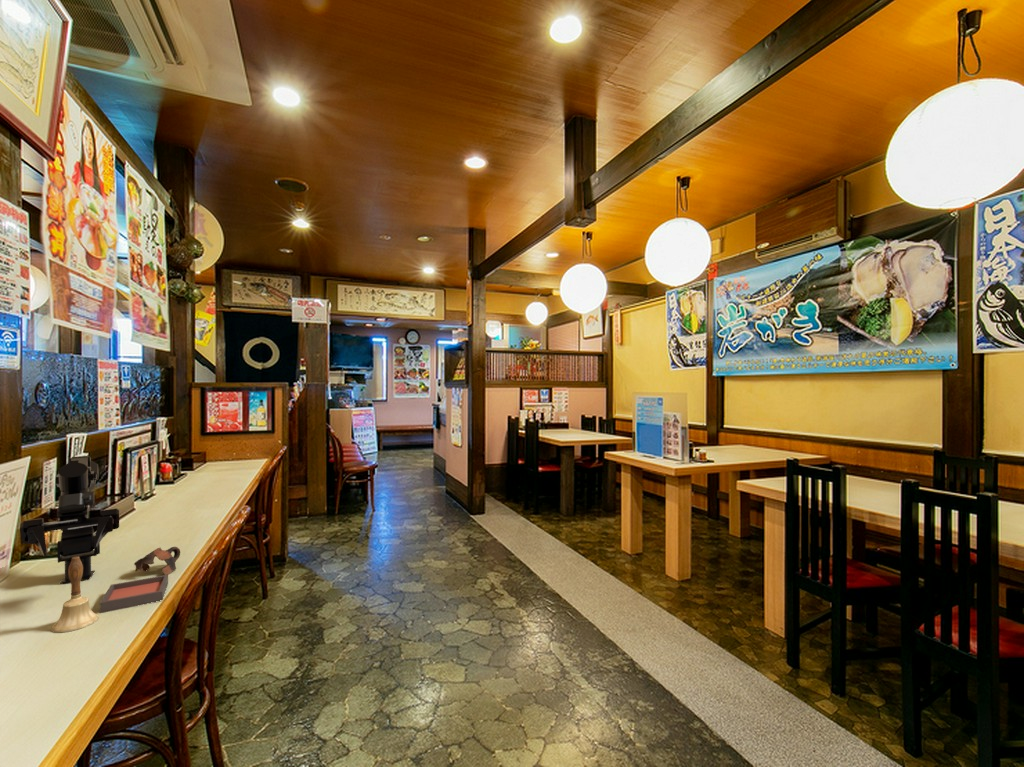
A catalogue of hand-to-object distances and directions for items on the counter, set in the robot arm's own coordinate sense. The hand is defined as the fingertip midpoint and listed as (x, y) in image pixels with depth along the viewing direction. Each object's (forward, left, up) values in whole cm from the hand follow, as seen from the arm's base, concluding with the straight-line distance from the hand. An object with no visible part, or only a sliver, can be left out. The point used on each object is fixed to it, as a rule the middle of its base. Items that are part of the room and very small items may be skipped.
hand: (70, 550), depth 117 cm
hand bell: (+8, +3, -16) cm, 18 cm away
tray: (-2, +13, -15) cm, 20 cm away
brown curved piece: (-21, +16, -16) cm, 30 cm away
